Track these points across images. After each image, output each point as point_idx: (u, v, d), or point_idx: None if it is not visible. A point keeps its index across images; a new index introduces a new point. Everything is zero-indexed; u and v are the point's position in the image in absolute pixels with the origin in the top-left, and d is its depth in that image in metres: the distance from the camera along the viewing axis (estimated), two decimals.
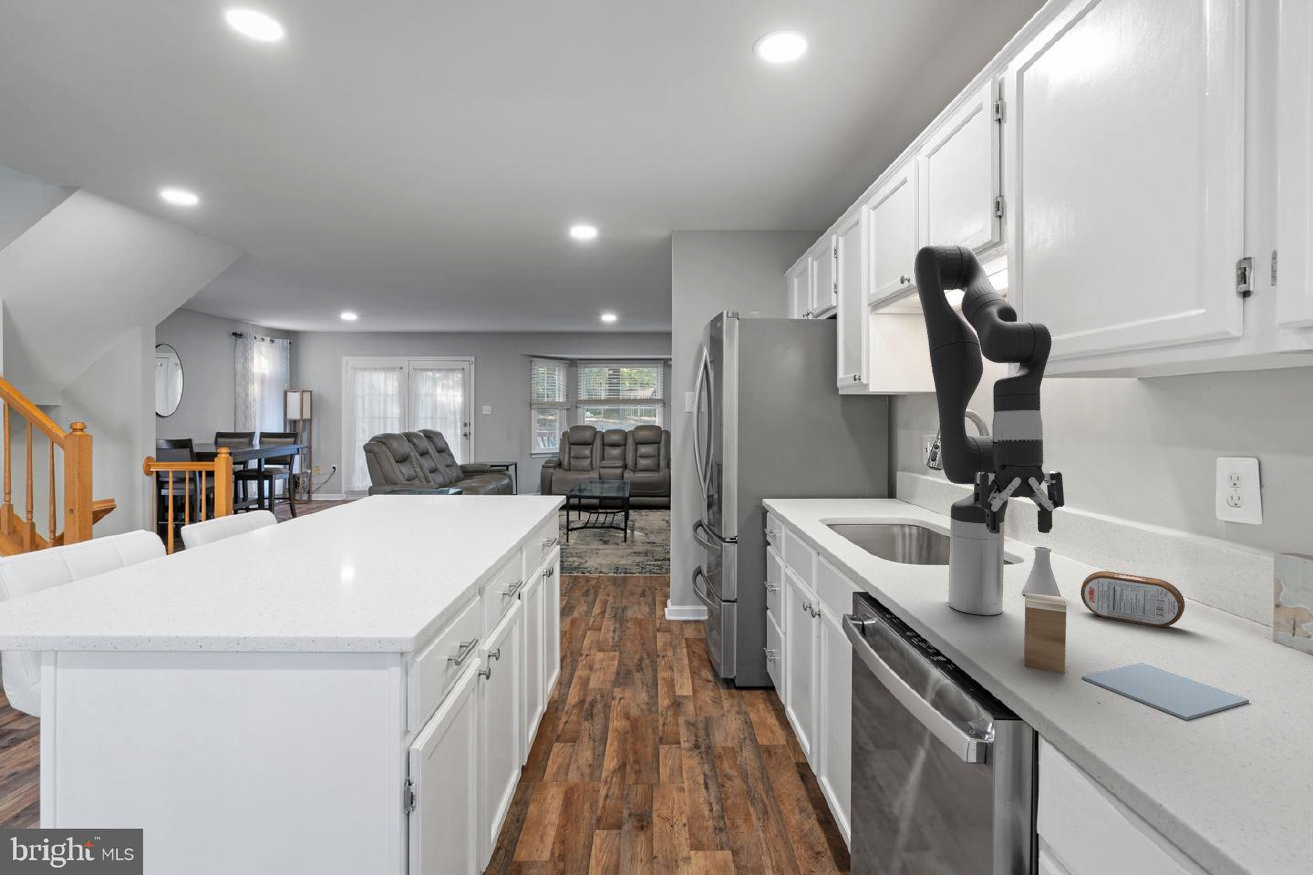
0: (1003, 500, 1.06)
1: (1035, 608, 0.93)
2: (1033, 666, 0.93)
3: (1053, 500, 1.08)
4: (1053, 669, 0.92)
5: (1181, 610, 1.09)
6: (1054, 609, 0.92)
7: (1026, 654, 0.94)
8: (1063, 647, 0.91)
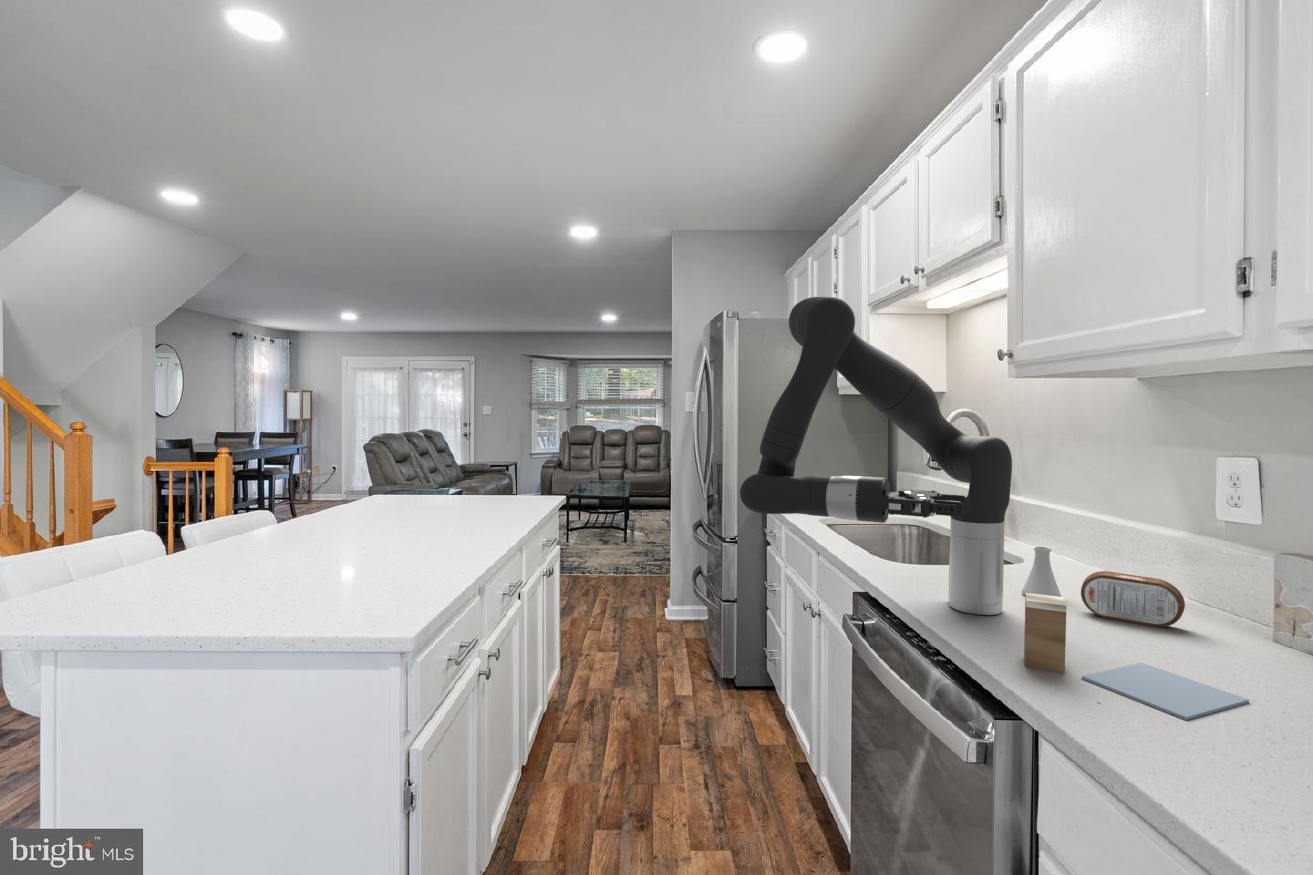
0: None
1: (1035, 608, 0.93)
2: (1033, 666, 0.93)
3: None
4: (1053, 669, 0.92)
5: (1181, 610, 1.09)
6: (1054, 609, 0.92)
7: (1026, 654, 0.94)
8: (1063, 647, 0.91)
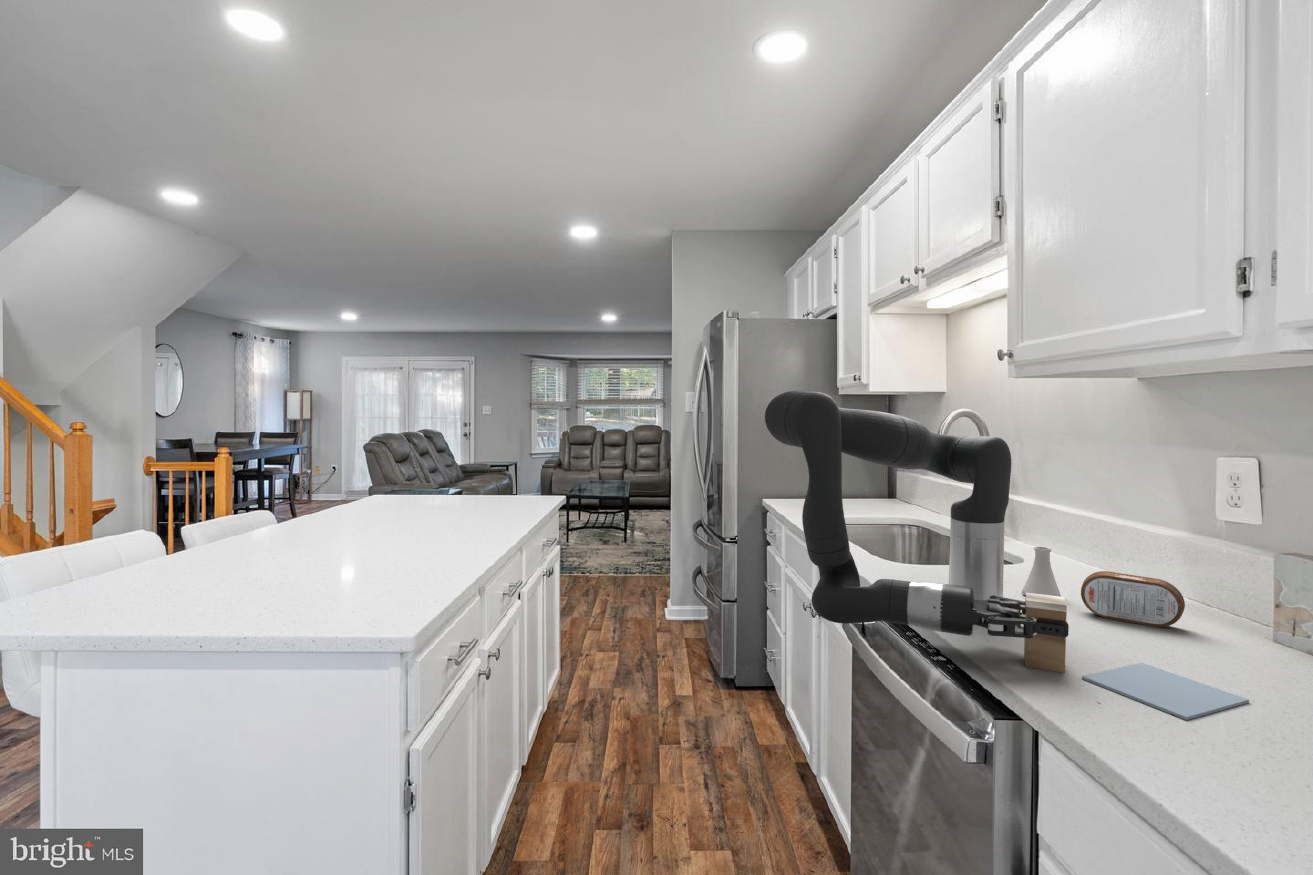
0: None
1: (1035, 608, 0.93)
2: (1033, 666, 0.93)
3: None
4: (1053, 669, 0.92)
5: (1181, 610, 1.09)
6: (1054, 609, 0.92)
7: (1026, 654, 0.94)
8: (1063, 647, 0.91)
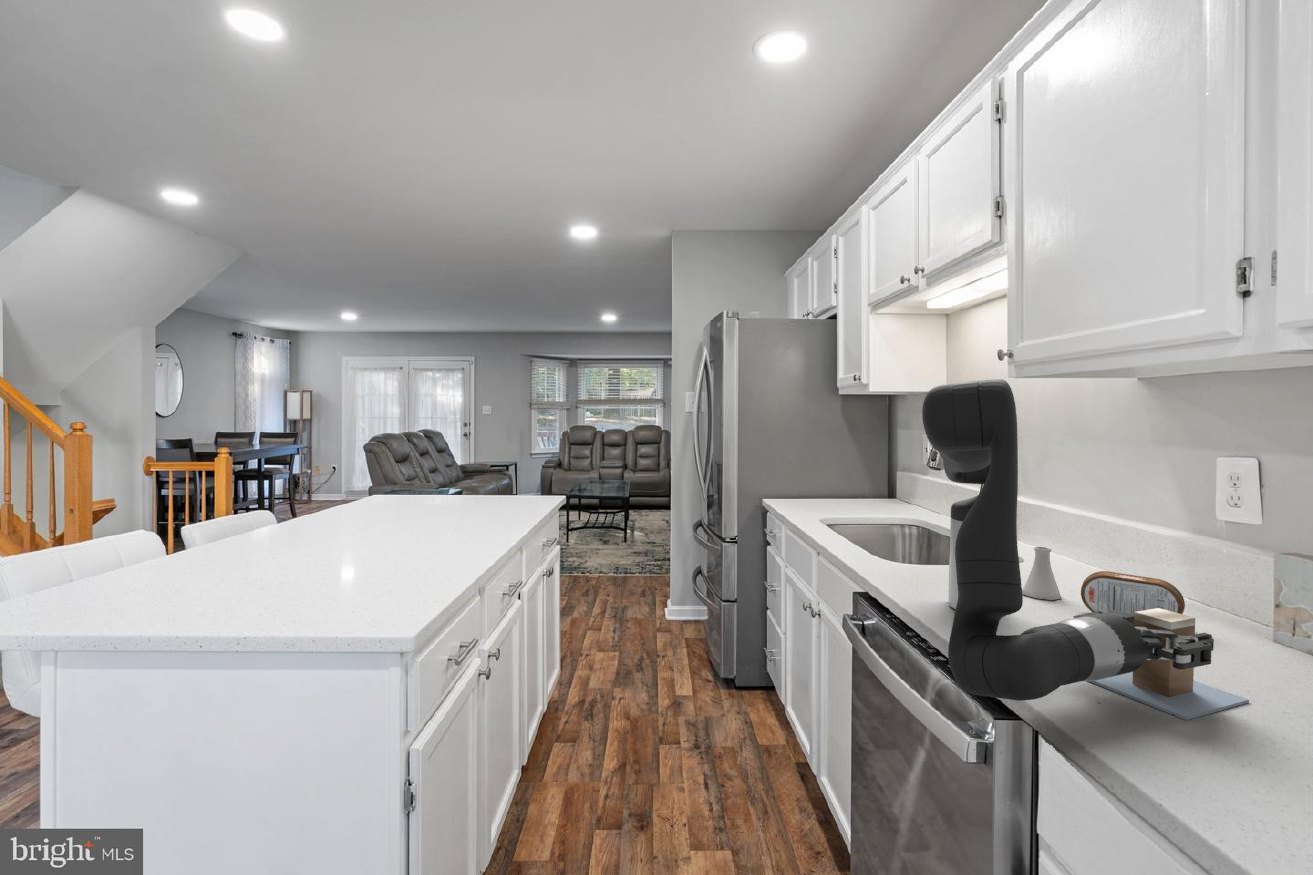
0: None
1: (1176, 629, 0.83)
2: (1174, 694, 0.83)
3: None
4: (1186, 690, 0.84)
5: (1181, 610, 1.09)
6: (1188, 625, 0.84)
7: (1170, 683, 0.83)
8: None
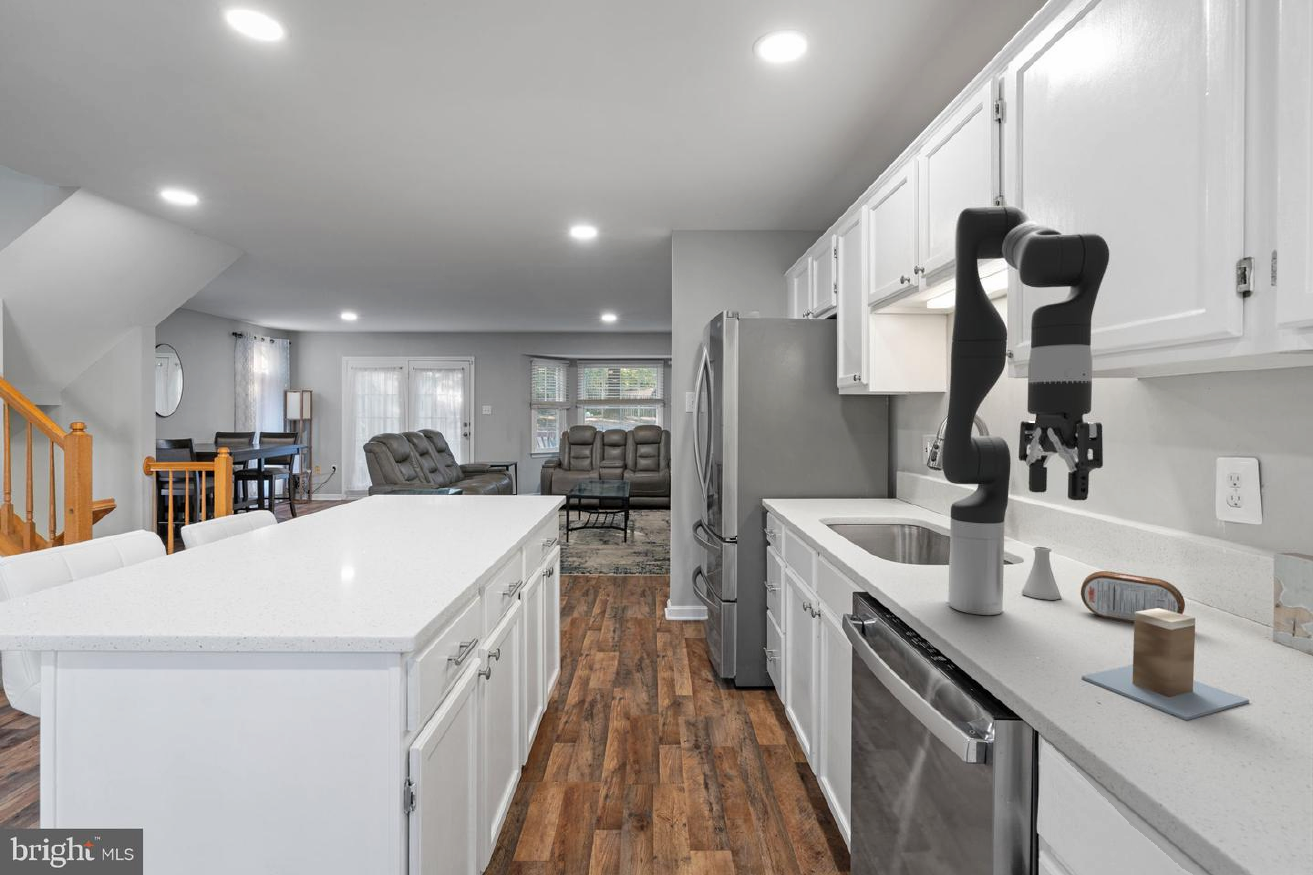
0: (1032, 454, 0.92)
1: (1176, 629, 0.83)
2: (1174, 694, 0.83)
3: None
4: (1186, 690, 0.84)
5: (1181, 610, 1.09)
6: (1188, 625, 0.84)
7: (1170, 683, 0.83)
8: (1192, 663, 0.84)
